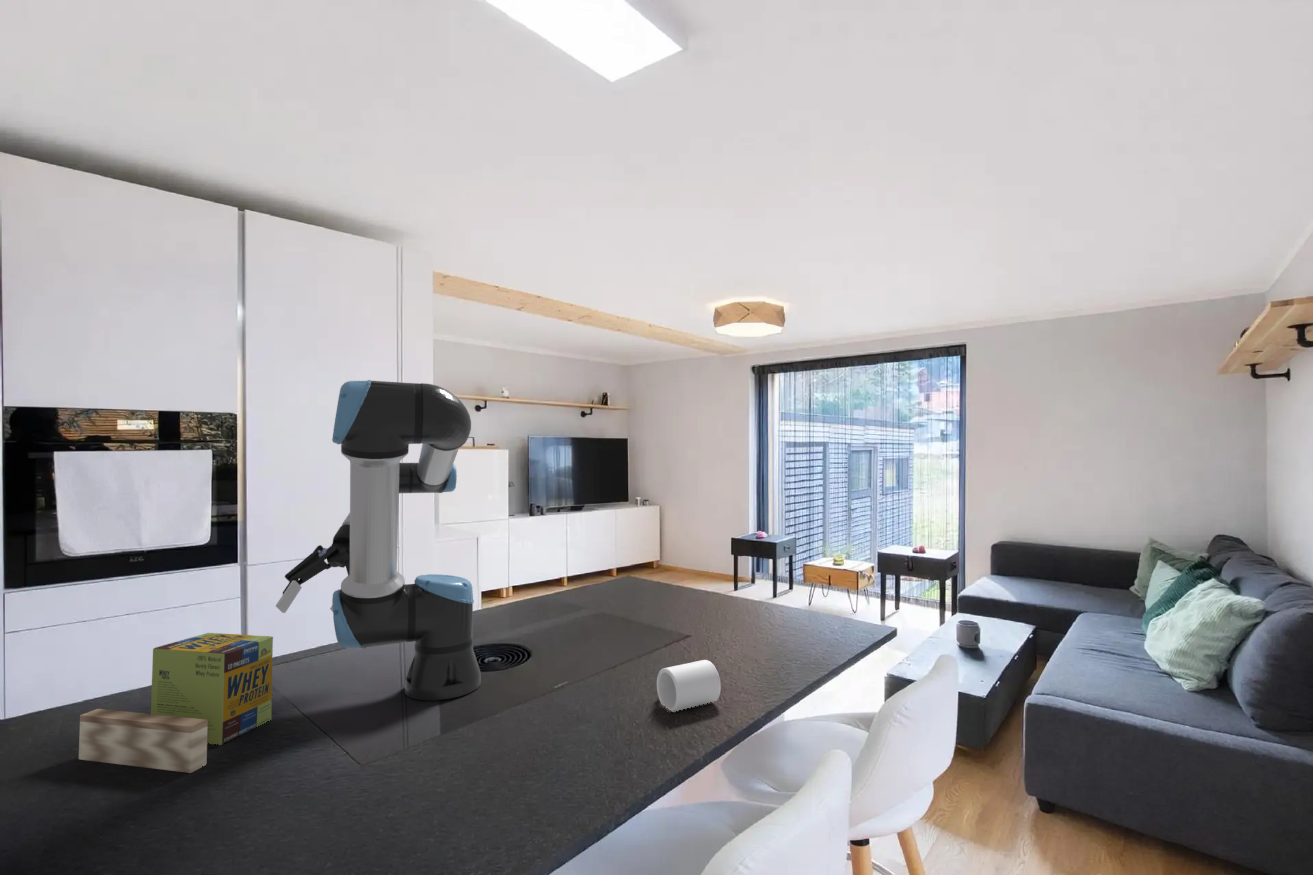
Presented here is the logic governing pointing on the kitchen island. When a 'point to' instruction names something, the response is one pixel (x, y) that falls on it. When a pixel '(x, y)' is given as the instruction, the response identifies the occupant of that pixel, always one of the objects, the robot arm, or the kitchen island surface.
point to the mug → (688, 685)
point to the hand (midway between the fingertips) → (307, 610)
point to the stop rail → (143, 740)
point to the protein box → (215, 682)
